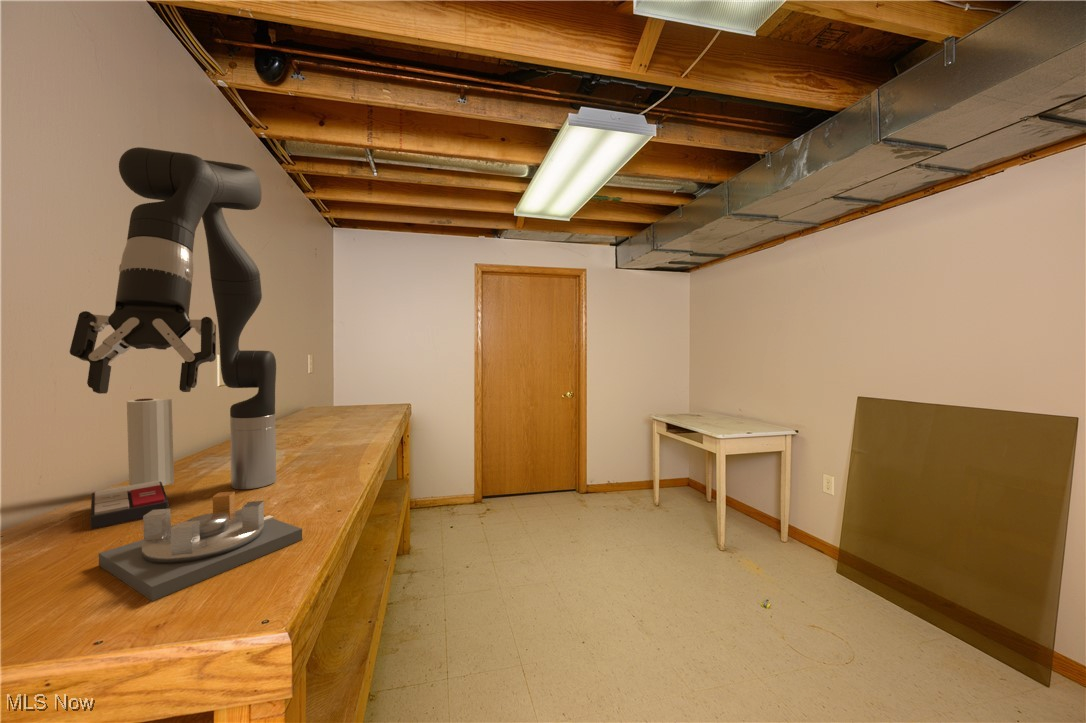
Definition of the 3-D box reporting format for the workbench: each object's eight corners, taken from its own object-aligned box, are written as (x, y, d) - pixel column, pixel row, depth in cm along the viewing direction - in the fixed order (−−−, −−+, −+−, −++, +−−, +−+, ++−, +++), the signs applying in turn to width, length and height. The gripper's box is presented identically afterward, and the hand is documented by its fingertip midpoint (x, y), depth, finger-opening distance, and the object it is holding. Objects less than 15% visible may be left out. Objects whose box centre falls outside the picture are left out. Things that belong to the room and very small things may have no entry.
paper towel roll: (121, 490, 100) (119, 400, 99) (149, 482, 106) (146, 397, 105) (148, 492, 99) (145, 401, 98) (174, 484, 105) (171, 398, 104)
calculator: (90, 512, 79) (91, 489, 90) (91, 535, 80) (92, 508, 90) (168, 497, 87) (161, 477, 98) (169, 518, 88) (161, 495, 98)
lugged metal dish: (123, 546, 68) (122, 515, 68) (234, 512, 82) (234, 486, 82) (169, 573, 61) (168, 537, 61) (283, 530, 75) (282, 501, 75)
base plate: (98, 565, 67) (98, 550, 67) (244, 518, 85) (244, 506, 85) (152, 601, 58) (151, 584, 58) (302, 539, 76) (302, 526, 76)
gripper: (225, 292, 66) (217, 395, 62) (101, 284, 60) (83, 398, 56) (213, 271, 59) (203, 385, 56) (72, 259, 53) (50, 386, 49)
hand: (143, 391), depth 56 cm, fingers open, 8 cm apart
